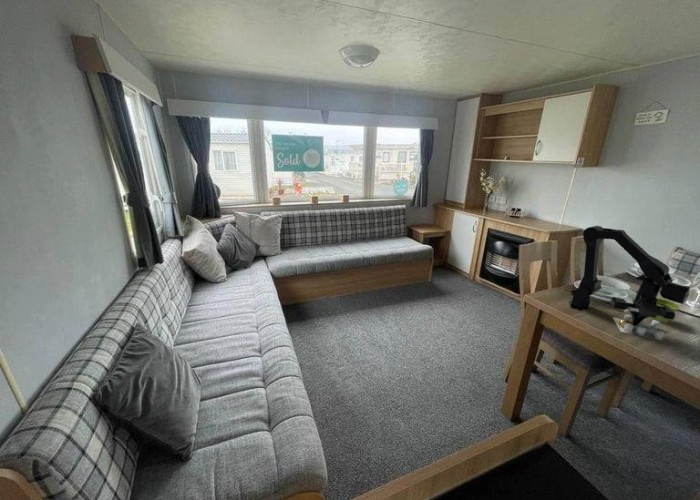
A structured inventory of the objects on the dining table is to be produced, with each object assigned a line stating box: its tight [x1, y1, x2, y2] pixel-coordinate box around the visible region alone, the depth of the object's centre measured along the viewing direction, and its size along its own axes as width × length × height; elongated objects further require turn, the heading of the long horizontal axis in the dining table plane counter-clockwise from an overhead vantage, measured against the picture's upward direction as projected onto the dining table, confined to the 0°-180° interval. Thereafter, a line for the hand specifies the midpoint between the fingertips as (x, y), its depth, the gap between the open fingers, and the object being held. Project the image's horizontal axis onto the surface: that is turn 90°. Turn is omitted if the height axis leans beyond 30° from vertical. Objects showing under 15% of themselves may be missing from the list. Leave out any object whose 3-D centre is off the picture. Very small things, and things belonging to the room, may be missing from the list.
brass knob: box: [618, 317, 633, 328], centre depth 124 cm, size 4×4×3 cm
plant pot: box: [648, 297, 681, 324], centre depth 129 cm, size 9×9×9 cm
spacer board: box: [612, 313, 666, 343], centre depth 122 cm, size 15×12×4 cm
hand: (634, 325), depth 123 cm, fingers closed
